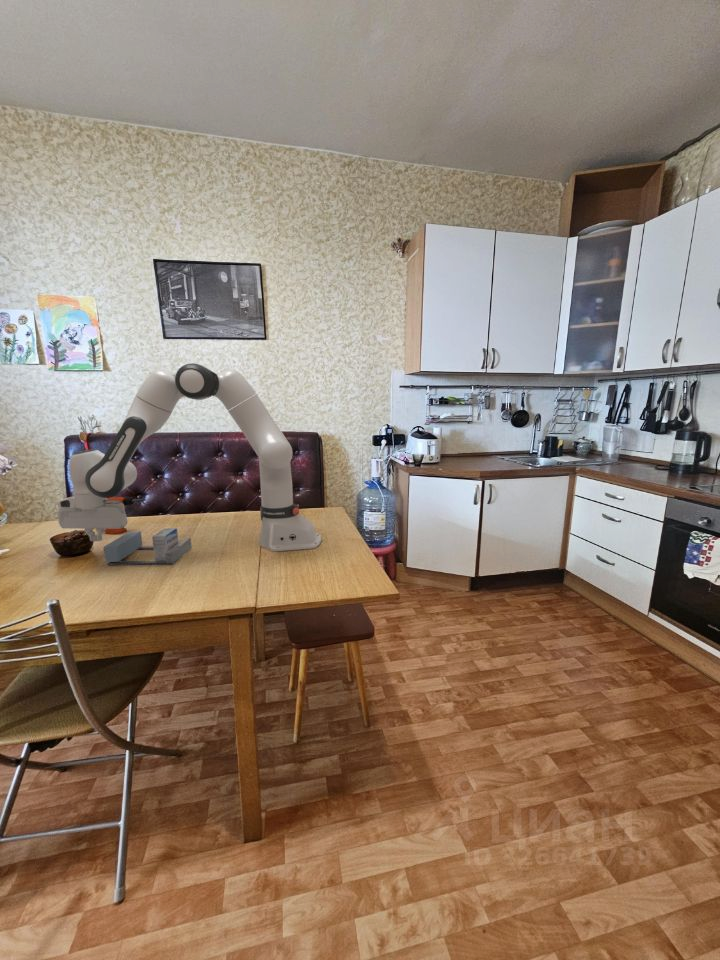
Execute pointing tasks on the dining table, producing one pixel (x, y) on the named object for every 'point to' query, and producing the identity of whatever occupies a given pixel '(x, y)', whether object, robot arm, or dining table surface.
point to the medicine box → (164, 542)
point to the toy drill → (126, 502)
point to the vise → (171, 555)
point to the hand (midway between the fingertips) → (96, 540)
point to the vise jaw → (122, 546)
